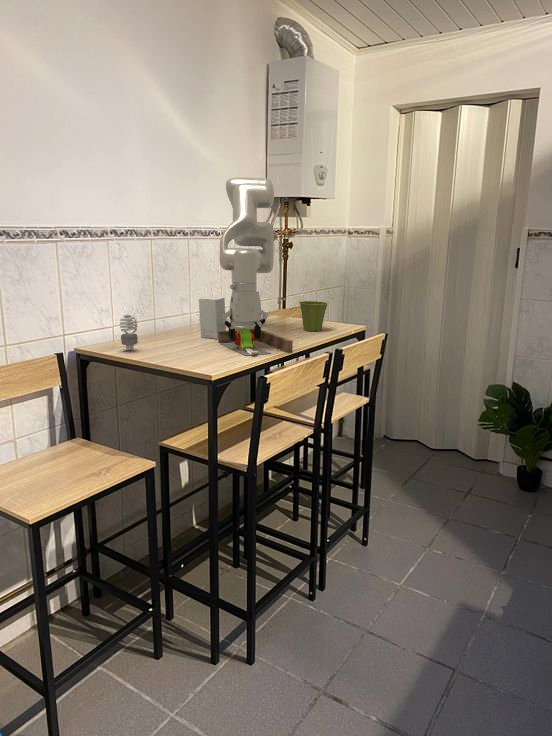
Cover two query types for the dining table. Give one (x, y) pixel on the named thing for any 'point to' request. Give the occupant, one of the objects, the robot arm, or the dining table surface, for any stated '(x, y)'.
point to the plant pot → (313, 314)
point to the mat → (244, 352)
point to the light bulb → (129, 338)
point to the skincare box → (211, 316)
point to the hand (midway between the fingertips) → (244, 339)
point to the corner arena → (262, 340)
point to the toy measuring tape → (245, 341)
